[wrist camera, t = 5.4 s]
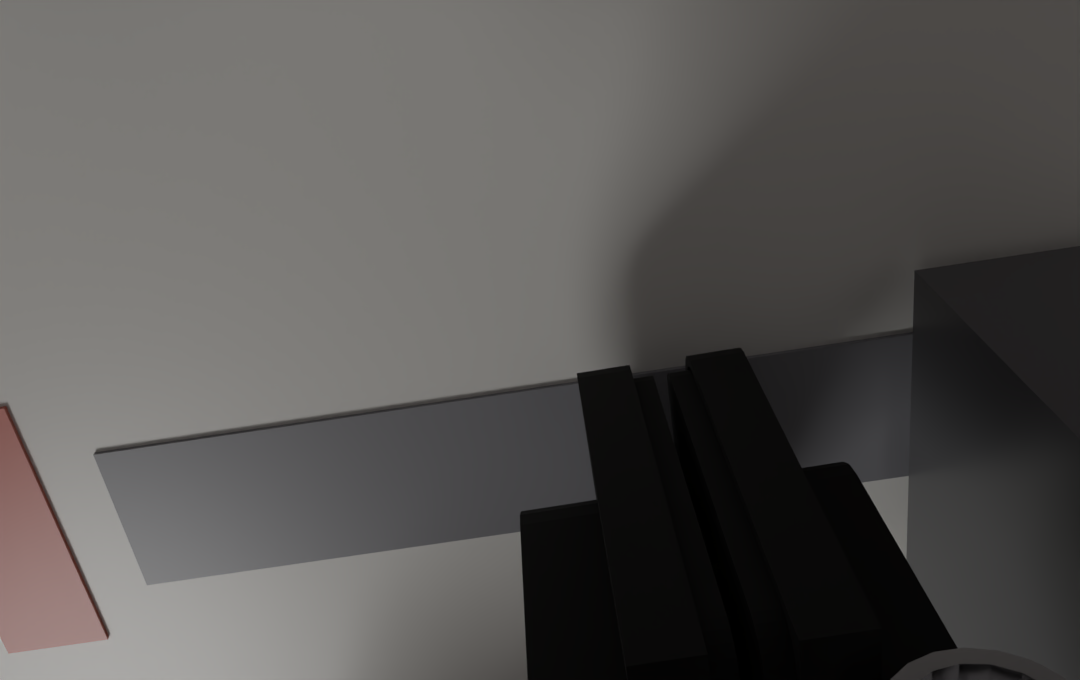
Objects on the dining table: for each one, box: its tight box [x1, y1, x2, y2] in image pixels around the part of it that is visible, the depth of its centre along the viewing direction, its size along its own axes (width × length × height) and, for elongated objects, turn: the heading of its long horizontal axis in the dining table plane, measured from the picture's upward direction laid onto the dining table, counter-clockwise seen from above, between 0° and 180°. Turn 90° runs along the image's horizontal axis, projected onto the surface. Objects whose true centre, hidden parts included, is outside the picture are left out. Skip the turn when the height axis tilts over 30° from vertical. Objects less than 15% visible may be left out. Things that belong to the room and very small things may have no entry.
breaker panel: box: [0, 0, 1080, 680], centre depth 12 cm, size 16×24×3 cm, turn 8°
